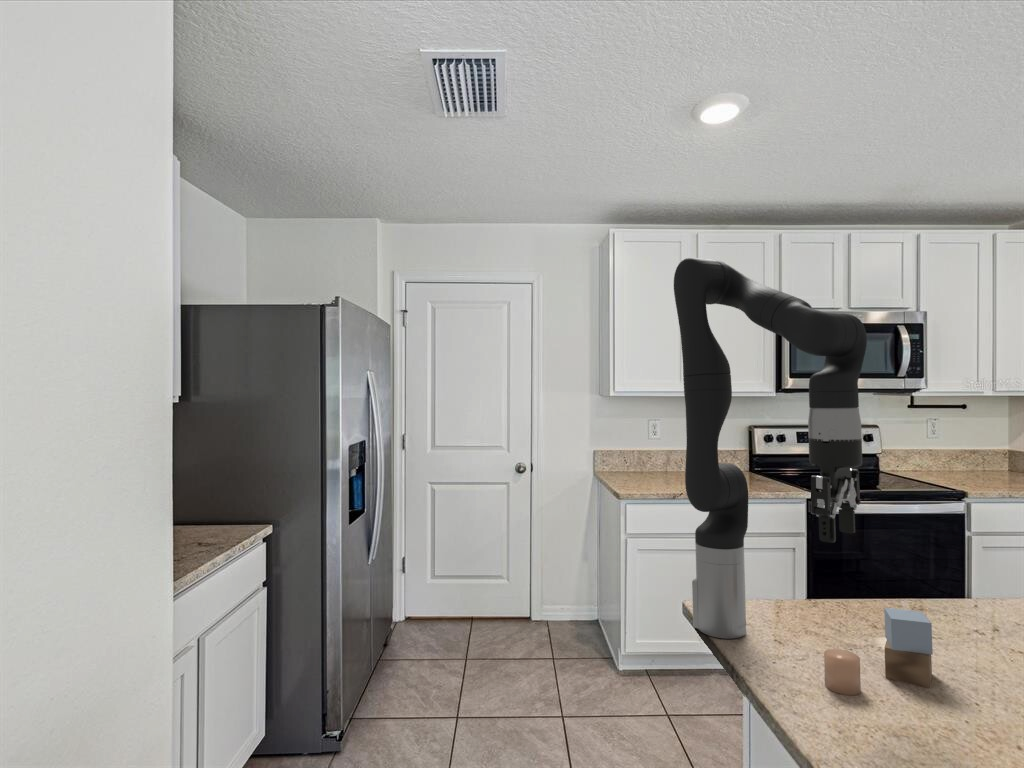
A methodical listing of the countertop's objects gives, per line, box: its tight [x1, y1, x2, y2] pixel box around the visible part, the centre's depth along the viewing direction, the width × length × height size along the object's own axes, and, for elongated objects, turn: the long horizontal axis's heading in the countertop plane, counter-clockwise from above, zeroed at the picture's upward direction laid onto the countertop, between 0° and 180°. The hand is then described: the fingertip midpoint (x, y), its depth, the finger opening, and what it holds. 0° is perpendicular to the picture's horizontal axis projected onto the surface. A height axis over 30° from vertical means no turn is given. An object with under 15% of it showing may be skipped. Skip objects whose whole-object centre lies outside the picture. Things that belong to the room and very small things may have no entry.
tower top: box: [883, 607, 934, 656], centre depth 96 cm, size 6×6×5 cm
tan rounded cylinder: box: [823, 648, 862, 696], centre depth 93 cm, size 5×5×5 cm
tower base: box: [883, 640, 933, 689], centre depth 96 cm, size 6×6×5 cm
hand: (837, 537), depth 94 cm, fingers open, 8 cm apart
